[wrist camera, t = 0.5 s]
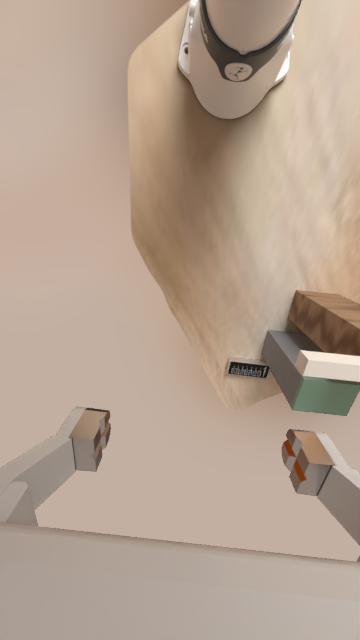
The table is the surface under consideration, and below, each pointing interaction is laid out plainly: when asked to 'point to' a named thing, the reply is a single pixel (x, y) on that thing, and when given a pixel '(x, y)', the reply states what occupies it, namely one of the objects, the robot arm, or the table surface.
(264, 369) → the multiport hub
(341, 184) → the table surface
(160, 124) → the table surface
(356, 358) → the plug
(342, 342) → the walnut pillar
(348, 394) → the grey tall block
